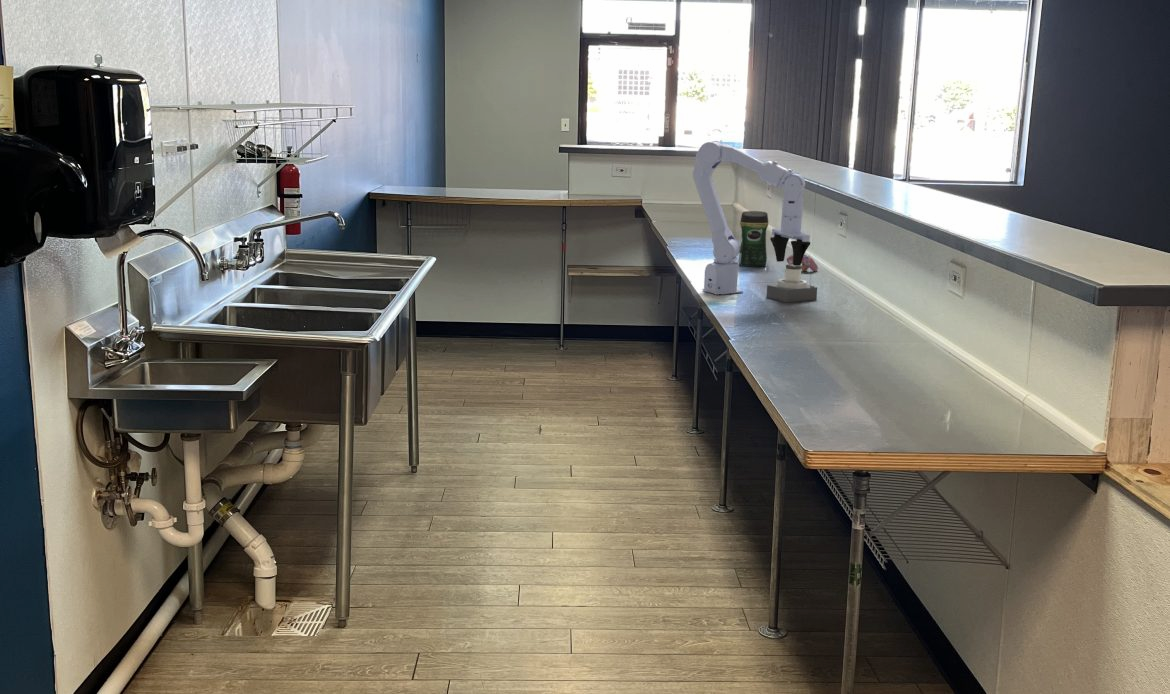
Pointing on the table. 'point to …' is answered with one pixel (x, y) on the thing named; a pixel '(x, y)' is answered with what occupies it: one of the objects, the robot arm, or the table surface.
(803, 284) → the grey square base
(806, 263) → the pink animal figurine
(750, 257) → the coffee jar
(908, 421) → the table surface
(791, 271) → the white lens
